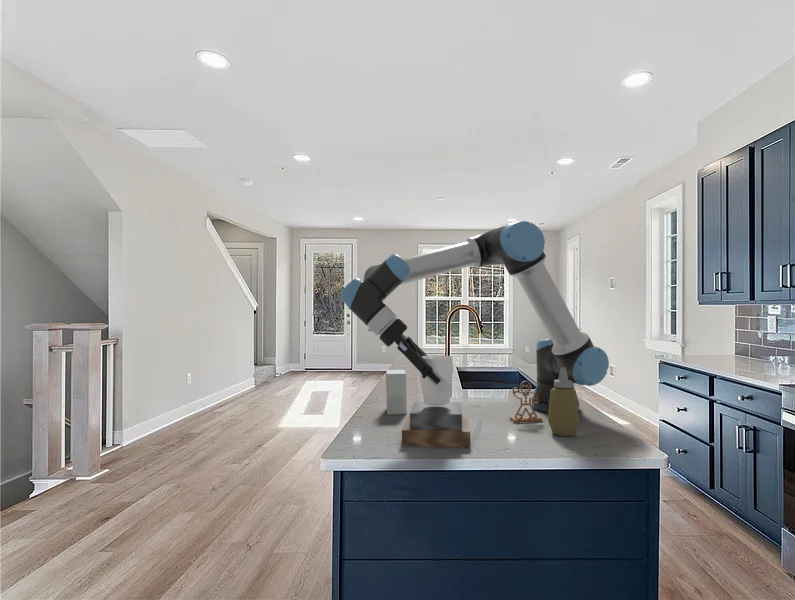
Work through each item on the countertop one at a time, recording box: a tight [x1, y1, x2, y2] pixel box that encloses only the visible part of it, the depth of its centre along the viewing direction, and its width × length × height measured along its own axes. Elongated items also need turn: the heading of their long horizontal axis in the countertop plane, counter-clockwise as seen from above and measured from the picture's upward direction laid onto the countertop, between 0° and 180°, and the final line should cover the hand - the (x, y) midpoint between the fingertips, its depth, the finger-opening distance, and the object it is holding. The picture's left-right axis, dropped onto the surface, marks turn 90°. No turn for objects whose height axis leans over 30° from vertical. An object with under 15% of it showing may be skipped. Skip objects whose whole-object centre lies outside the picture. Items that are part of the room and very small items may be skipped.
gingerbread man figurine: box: [509, 380, 543, 424], centre depth 145 cm, size 9×4×12 cm, turn 100°
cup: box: [418, 354, 454, 405], centre depth 128 cm, size 9×9×12 cm
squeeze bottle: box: [547, 367, 580, 437], centre depth 132 cm, size 8×8×18 cm
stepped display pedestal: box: [401, 401, 471, 448], centre depth 128 cm, size 17×15×8 cm
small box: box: [385, 369, 408, 415], centre depth 159 cm, size 8×6×13 cm
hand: (448, 387), depth 128 cm, fingers closed on cup, 9 cm apart
